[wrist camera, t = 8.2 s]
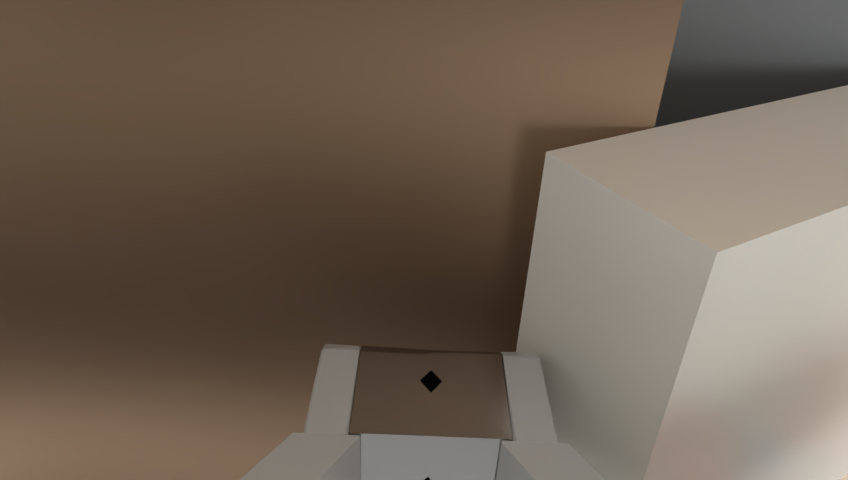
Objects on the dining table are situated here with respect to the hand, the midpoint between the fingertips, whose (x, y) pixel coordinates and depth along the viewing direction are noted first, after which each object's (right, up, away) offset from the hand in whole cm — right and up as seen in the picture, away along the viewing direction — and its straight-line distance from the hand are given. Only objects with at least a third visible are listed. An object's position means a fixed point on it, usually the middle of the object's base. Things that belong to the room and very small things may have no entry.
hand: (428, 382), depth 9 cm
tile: (+5, +1, +2) cm, 6 cm away
